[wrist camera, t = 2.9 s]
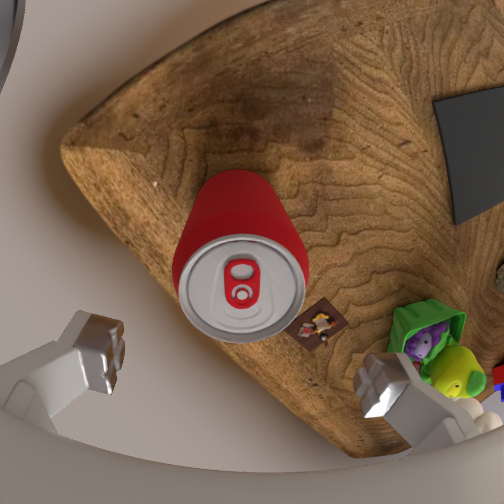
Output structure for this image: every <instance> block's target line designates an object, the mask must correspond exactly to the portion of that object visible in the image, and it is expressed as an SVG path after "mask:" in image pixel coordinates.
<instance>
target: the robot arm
mask: <svg viewBox="0 0 504 504" xmlns="http://www.w3.org/2000/svg"><path fill="white" fill-rule="evenodd" d="M123 332H124V326H123V322H122V321H120V320H115V319H112V318H108V317H104V316H100V315H96V314H92V313H88V312H84V311H81V310H79V311H77V312H76V313H75V315H74V316H73V318H72V319H71V321H70V322H69V324H68V326H67V327H66V329H65V330H64V332H63V333H62V335H61V337H60V338H59V340H58V341H57V342H55V341H52V342H49V343H47V344H45V345H43V346H41V347H39V348H37V349H35V350H33V351H30V352H28V353H26V354H24V355H22V356H20V357H18V358H16V359H14V360H12V361H10V362H7V363H5V364H3V365H1V366H0V504H504V425H502V426H500V427H498V428H495V429H493V430H491V431H488V432H486V433H483V434H481V433H480V432H479V430H478V428H477V426H476V425H475V423H474V421H473V419H472V417H471V416H470V414H469V412H468V411H466V410H465V409H463V408H462V407H461V406H459V405H458V404H456V403H455V402H454V401H452V400H451V399H449V398H448V397H447V396H445V395H444V394H442V393H441V392H439V391H438V390H437V389H435V388H434V387H432V386H431V385H430V384H428V383H427V382H423V381H422V379H421V377H420V376H419V374H418V372H417V371H416V369H415V367H414V366H413V364H412V362H411V361H410V359H409V357H408V356H407V354H405V353H404V352H401V353H371V352H370V353H369V354H367V355H366V357H365V358H364V360H363V362H364V366H362V367H361V368H359V369H358V370H357V372H356V374H355V376H354V381H353V386H354V391H355V394H356V395H357V396H359V397H360V398H361V400H360V403H359V404H360V407H361V410H362V412H363V415H364V418H365V417H382V416H384V418H385V419H386V420H387V421H388V423H389V424H390V425H391V426H392V427H393V428H394V429H395V430H396V431H397V432H398V433H399V434H400V435H401V436H402V437H403V438H404V439H405V440H406V441H407V442H408V443H409V444H410V445H411V446H412V447H413V448H414V449H413V450H412V451H411V452H410V453H409V454H408V455H407V456H406V458H402V459H397V460H392V461H388V462H382V463H377V464H371V465H365V466H358V467H351V468H343V469H335V470H323V471H309V472H286V473H255V472H254V473H253V472H233V471H218V470H207V469H199V468H191V467H183V466H177V465H171V464H165V463H159V462H154V461H149V460H144V459H140V458H135V457H131V456H127V455H122V454H119V453H115V452H111V451H107V450H103V449H100V448H97V447H94V446H90V445H87V444H84V443H81V442H78V441H75V440H72V439H70V438H67V437H64V436H61V435H59V434H58V433H57V431H56V429H55V427H54V425H53V423H52V422H51V420H50V418H51V417H52V416H54V415H55V414H56V413H58V412H59V411H60V410H62V409H63V408H64V407H65V406H67V405H68V404H69V403H71V402H72V401H73V400H75V399H76V398H77V397H78V396H80V395H81V394H82V393H84V392H85V391H86V389H90V390H94V391H98V392H101V393H106V394H110V395H112V392H113V389H114V386H115V384H116V381H117V376H116V372H117V371H119V370H120V369H121V367H122V364H123V360H124V354H125V342H124V340H123V339H122V338H121V337H122V335H123Z"/></svg>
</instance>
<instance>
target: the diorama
mask: <svg viewBox="0 0 504 504" xmlns="http://www.w3.org/2000/svg"><path fill="white" fill-rule="evenodd" d="M348 324H349V323H348V322H347V321H346V320H345V319H344V318H343V317H342V316H341V315H340V314H339V313H338V312H337V311H336V310H335V309H334V308H333V307H332V305H331V304H330V303H329V302H328V301H327V300H326V299H325V298H324V299H322V300H321V301H320V302H318V303H317V304H316V305H315V306H313V307H312V308H311V309H309V310H308V311H306V312H305V313H304V314H302V315H301V316H300V317H298V318H297V319H296V320H294V321H293V322H292V323H290V324H289V325H288V326H287V327H286V328H285V329H283V330H284V331H285V332H287V333H288V334H289V335H290V336H291V337H293V338H294V339H295V340H296V341H297V342H299V343H300V344H301V345H302V346H303V347H305V348H306V349H307V350H308V351H311V350H313V349H314V348H316V347H317V346H319V345H320V344H321V343H323V342H324V341H325V342H324V345H325V348H327V347H329V346H328V339H329V338H330V337H331V336H333V335H334V334H336V333H337V332H338V331H340V330H341V329H343V328H344V327H345V326H347V325H348Z"/></svg>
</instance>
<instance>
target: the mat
mask: <svg viewBox="0 0 504 504" xmlns="http://www.w3.org/2000/svg"><path fill="white" fill-rule="evenodd" d="M432 105H433V108H434V112H435V116H436V120H437V123H438V128H439V132H440V136H441V141H442V145H443V150H444V155H445V160H446V166H447V172H448V178H449V184H450V191H451V199H452V208H453V217H454V225H456V226H457V225H459V224H461V223H463V222H465V221H467V220H469V219H471V218H472V217H474V216H476V215H478V214H480V213H482V212H484V211H486V210H488V209H490V208H492V207H493V206H495V205H497V204H499V203H501V202H503V201H504V86H502V87H497V88H492V89H487V90H482V91H477V92H473V93H468V94H464V95H459V96H455V97H451V98H447V99H443V100H439V101H435V102H432Z"/></svg>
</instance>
